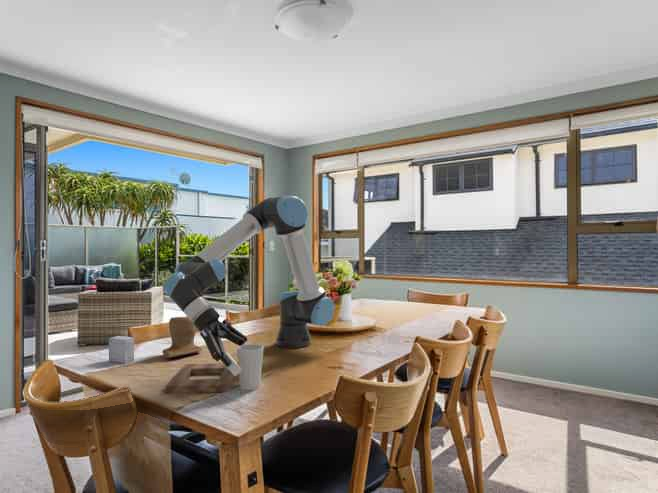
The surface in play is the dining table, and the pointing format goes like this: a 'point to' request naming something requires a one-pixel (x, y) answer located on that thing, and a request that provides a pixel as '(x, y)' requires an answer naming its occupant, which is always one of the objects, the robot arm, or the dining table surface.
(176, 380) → the board
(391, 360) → the dining table surface
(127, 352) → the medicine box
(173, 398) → the dining table surface
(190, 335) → the wooden stamp
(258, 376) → the cup
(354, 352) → the dining table surface
